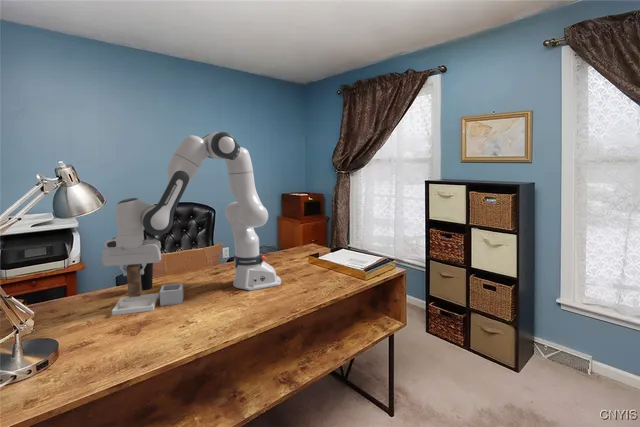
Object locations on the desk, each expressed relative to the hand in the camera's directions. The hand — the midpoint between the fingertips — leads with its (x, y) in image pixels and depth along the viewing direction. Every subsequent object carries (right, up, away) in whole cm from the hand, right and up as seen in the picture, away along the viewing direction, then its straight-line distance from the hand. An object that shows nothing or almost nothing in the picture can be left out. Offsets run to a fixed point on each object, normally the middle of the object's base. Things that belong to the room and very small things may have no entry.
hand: (133, 274), depth 134 cm
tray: (0, -13, +2) cm, 14 cm away
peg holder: (+12, -13, +7) cm, 19 cm away
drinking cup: (-6, -11, +21) cm, 24 cm away
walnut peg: (0, -8, +1) cm, 8 cm away
